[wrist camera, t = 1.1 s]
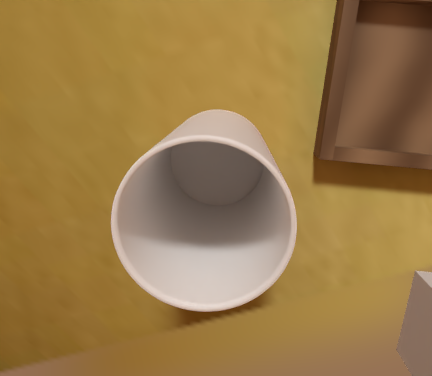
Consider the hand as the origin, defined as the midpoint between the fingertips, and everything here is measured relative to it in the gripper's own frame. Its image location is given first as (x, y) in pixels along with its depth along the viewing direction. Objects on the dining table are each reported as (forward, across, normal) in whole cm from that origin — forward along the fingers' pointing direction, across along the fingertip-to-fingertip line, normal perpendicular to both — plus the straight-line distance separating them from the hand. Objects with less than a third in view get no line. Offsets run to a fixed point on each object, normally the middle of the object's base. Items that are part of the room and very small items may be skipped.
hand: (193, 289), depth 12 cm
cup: (+22, 0, 0) cm, 22 cm away
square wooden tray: (+21, +14, +7) cm, 26 cm away
